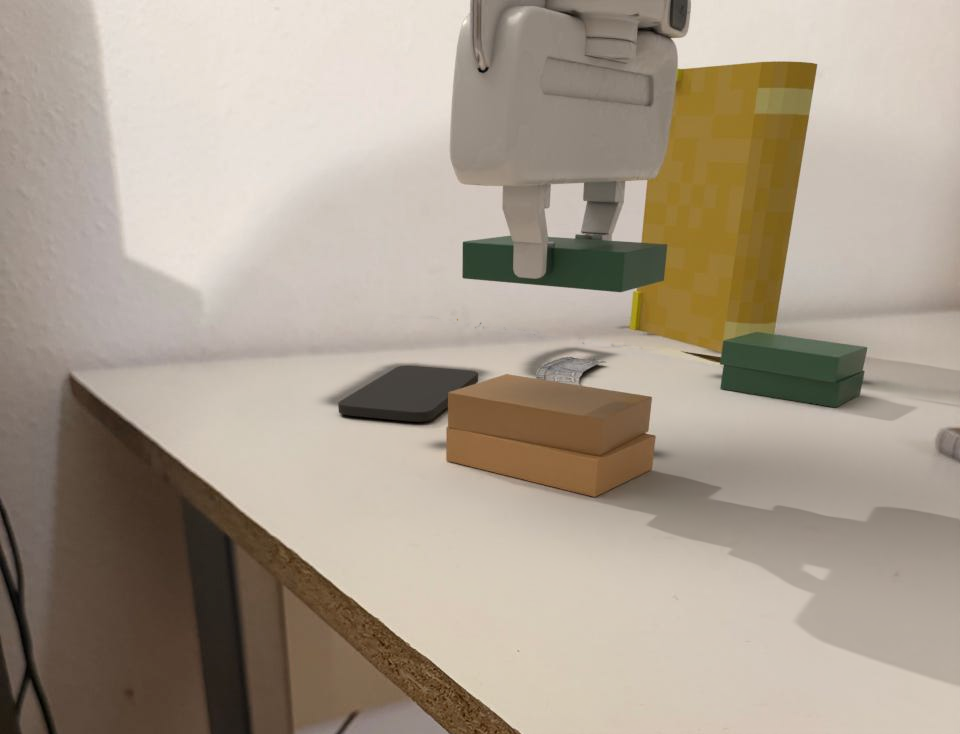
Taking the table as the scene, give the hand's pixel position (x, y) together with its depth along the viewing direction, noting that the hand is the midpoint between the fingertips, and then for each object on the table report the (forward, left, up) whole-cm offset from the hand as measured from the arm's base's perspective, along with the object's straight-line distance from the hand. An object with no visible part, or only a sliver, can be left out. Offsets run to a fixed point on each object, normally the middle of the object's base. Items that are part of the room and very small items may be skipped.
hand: (564, 270), depth 55 cm
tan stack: (0, 0, -12) cm, 12 cm away
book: (+10, -45, -12) cm, 47 cm away
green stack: (-4, -32, -12) cm, 34 cm away
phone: (+18, -8, -12) cm, 23 cm away
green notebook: (0, 0, -1) cm, 0 cm away
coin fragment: (+14, -25, -12) cm, 31 cm away
